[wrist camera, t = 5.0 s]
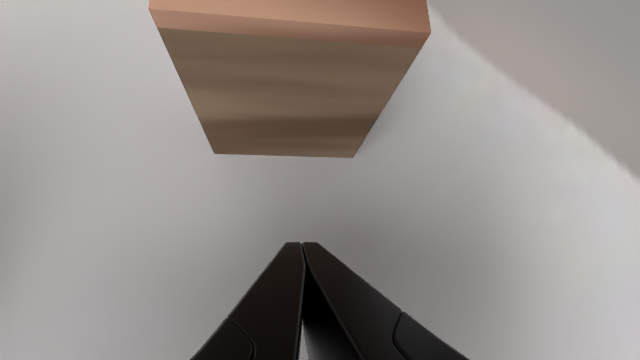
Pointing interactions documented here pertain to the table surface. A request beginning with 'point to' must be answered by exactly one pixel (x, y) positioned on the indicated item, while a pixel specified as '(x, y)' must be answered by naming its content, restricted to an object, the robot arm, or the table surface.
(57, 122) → the table surface
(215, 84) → the walnut block
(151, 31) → the table surface
